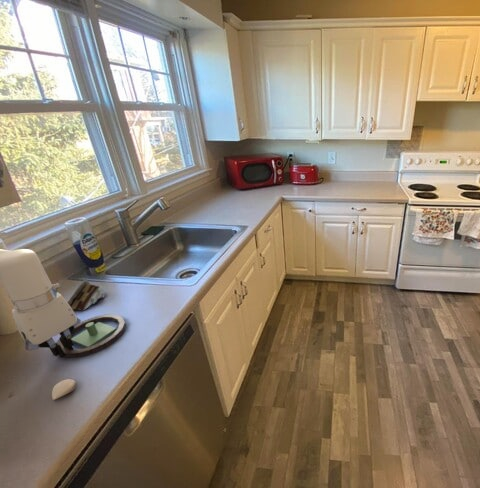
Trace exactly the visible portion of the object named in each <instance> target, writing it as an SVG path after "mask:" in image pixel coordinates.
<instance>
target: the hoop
mask: <svg viewBox="0 0 480 488" xmlns="http://www.w3.org/2000/svg"><path fill="white" fill-rule="evenodd" d="M106 321H109V322H111V321H112V322H116V323H118V327H117V328H116V329H117V330H116V331H115V332H114V333H113V334H112V335H110V336H109V337H107V338H106V339H104V340H103V341H101V342H100V343H98V344H96V345H93V346H91V347H87V348H85V347H83V348H79V349H74V350H70V349H67V348H65V347H63V345H62V343H61V341H60V340H59V339H60V337H59V338H58V340H57V341H56V343H57V344H59V345H60V346H61V348H62V350H63V352H64V353H65V356H64V357H65V358H78V357H84V356H88V355H92V354H95V353H97V352H98V351H100V350H104V349H105V348H106V347H109V346H110V345H111V344H113V343H114V342H116V341H117V340H118V339H120V338H121V336H122V335H123V334H124V332H125V330H126V327H127V323H126V321H125V319H124V317H123V316H121V315H118V314H115V313H114V314H112V313H111V314H102V315H101V314H100V315H96V316H94V317H90V318H88V319H85V320H81V322H80V323H79V324H78V325H77V326H76V327H74V330H73V332H72V334H71V335H72V336H73V335H74V334H75V333H77V332H78V331H80V330H82V329H84V328H86V327H85V325H86V324H88V323H90V322H93V323H94V324H96V323H98V322H101V323H102V322H106Z"/></svg>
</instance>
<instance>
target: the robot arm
mask: <svg viewBox="0 0 480 488" xmlns="http://www.w3.org/2000/svg"><path fill="white" fill-rule="evenodd" d="M0 284H1V286H2V288H3V289H4V291H5V293H6V294H7V297H8V298H9V299H10V302H11V303H12V304H13V306H14V308H13V309H12V310H11V315H12V319H13V321H14V324H15V326H16V329H17V331H18V334H19V336H21V339H22V340H23V341H24V342H25V350H27V351H28V352H32V351H35V350H38V349H41V348H45V349H46V348H48V349H49V350H50V351H51V353H52V355H53V356H55V357H57V356H58V357H61V358H64V357H65V353H64V352H63V350H62V348H61V346H60V345H59V344H57V342H55V340H54V338H53V337H55V336H57V335H59V338H60V339H59V338H58V340H60V341H61V343H62V345H63V347H65V348H67V349H70V350H75V348H74V344H75V343H73V342H72V340H71V339H72V338H73V337H72V336H73V335H71V334H72V332H73V330H74V327H76V326H77V325H78V324H79V323H80V322H82V319H80V318H79V317H77V315H76V313H75V311H74V309H72V308H71V307H70V305H69V304H68V303H67V302H68V301H67V299H66V298H65V297H64V296H63V295H62V294H61V293H60V292H58V291H57V290H59V289H60V288H61V287H62V285H61V284H60V283H58V282H57V283H53V284H52V282H51V280H50V277H49V276H48V274H47V272H46V270H45V268H44V265H43V264H42V262H41V260H40V258H39V256H38V254H37V252H35V251H34V250H32V249H28V248H19V249H12V250H9V249H1V248H0Z"/></svg>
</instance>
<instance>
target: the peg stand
mask: <svg viewBox="0 0 480 488" xmlns="http://www.w3.org/2000/svg"><path fill="white" fill-rule="evenodd" d="M84 328H85V330H83V331H82V332H80V333H79V334H77V335H75V336H73V337H71V340H72V342H73V344H76V345H79V346H80V347H83V348H87V347H91V346H93V345H96V344H98V343H100V342H102V341H104V340H105V339H107V338H108V337H110V336H111V335H112V334H113V333H114V332H115V331H116V330H117V329H118V328H116V327H114V326H112V325H109V324H106V323H103V322H102V321H101V322H96V323H93V322H90V323H88V324H86V325H85V327H84Z"/></svg>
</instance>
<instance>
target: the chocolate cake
mask: <svg viewBox="0 0 480 488" xmlns="http://www.w3.org/2000/svg"><path fill="white" fill-rule="evenodd" d="M105 295H106V292H105V290H104V288H103V287H102V286H100V285H96V284H91V283H90V282H89V280H88V279H87V277H86V278H84V279H83V281H82V282H81V283H80V284H79V286H78V287H77V288H76V290H75V291H74V292H73V294H72V295H71V297H70V298H69V300H68V301H67V303H68V304H69V305H70V307H71V308H72V310H75V311H85V310H87V308H89V307H90V306H91V305H97V304H98V303H99V302H98V300H99V299H102V298H105Z"/></svg>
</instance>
